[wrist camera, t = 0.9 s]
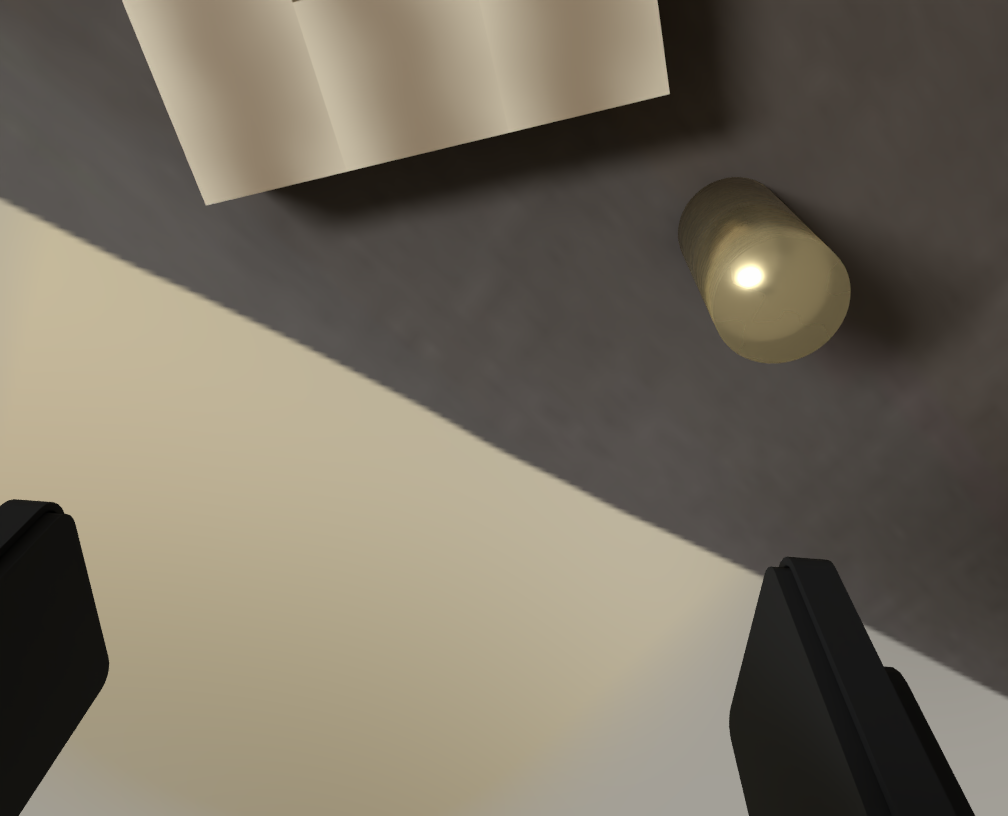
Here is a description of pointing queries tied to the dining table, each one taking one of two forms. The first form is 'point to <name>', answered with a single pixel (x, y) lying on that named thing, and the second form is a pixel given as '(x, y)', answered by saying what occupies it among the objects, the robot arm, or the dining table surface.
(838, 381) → the dining table surface
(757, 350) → the brass pin
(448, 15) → the block
